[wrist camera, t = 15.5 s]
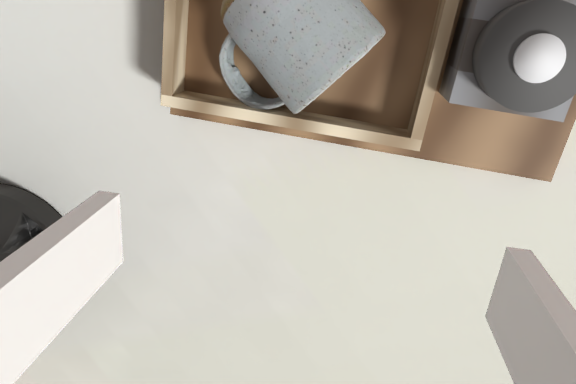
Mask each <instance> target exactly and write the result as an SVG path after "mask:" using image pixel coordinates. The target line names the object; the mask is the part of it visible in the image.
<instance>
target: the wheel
mask: <svg viewBox="0 0 576 384" xmlns="http://www.w3.org/2000/svg"><path fill="white" fill-rule="evenodd" d="M472 67H473V73H474V76H475V79H476V81H477V83H478V85H479V86H480V88H481V89H482V90H483V91H484V92H485V94H486V95H488V96H489V97H490V98H492V99H493V100H495V101H496V102H498V103H499V104H500V105H502V106H504V107H506V108H508V109H511V110H514V111H518V112H525V113H534V112H541V111H545V110H549V109H552V108H554V107H557V106H559V105H561V104H563V103H564V102H566V101H567V100H569V99H570V98H572V97H573V96H574V95H575V94H576V5H574V4H572V3H569V2H567V1H563V0H526V1H521V2H518V3H515V4H513V5H510V6H508V7H506V8H505V9H503V10H501V11H500V12H499V13H497V14H496V15H495V16H494V17H493V18H492V19H491V20H490V21H489V22H488V23H487V24H486V25H485V26H484V28H483V29H482V31H481V32H480V34H479V36H478V38H477V40H476V43H475V46H474V50H473V56H472Z"/></svg>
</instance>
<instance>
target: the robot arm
mask: <svg viewBox="0 0 576 384" xmlns="http://www.w3.org/2000/svg"><path fill="white" fill-rule="evenodd" d="M122 263H123V245H122V226H121V208H120V194H119V193H112V192H104V191H98V192H96V193H95V194H94V195H92V196H91V197H89V198H88V199H87V200H85V201H84V202H83V203H81V204H80V205H78V206H77V207H76V208H74V209H73V210H71V211H70V212H69V213H67V214H66V215H65V216H63V217H61V216H60V214H58V213H57V212H56V211H55V210H54V209H53V208H52V207H51V206H50V205H48V204H47V203H46V202H44V201H43V200H41V199H40V198H38V197H36V196H35V195H33V194H31V193H29V192H27V191H25V190H22V189H20V188H17V187H14V186H10V185H6V184H0V384H14V383H15V382H16V380H17V379H18V378H19V377H20V376H21V375H22V374H23V373H24V372H25V370H26V369H27V368H28V367H29V366H30V365H31V364H32V363H33V362H34V360H35V359H36V358H37V357H38V356H39V355H40V354H41V353H42V352H43V350H44V349H45V348H46V347H47V346H48V345H49V344H50V343H51V342H52V340H53V339H54V338H55V337H56V336H57V335H58V334H59V333H60V332H61V331H62V329H63V328H64V327H65V326H66V325H67V324H68V323H69V322H70V321H71V319H72V318H73V317H74V316H75V315H76V314H77V313H78V312H79V311H80V309H81V308H82V307H83V306H84V305H85V304H86V303H87V302H88V301H89V299H90V298H91V297H92V296H93V295H94V294H95V293H96V292H97V291H98V289H99V288H100V287H101V286H102V285H103V284H104V283H105V282H106V281H107V279H108V278H109V277H110V276H111V275H112V274H113V273H114V272H115V271H116V269H117V268H118V267H119V266H120V265H121V264H122ZM485 317H486V319H487V322H488V324H489V326H490V329H491V331H492V333H493V336H494V338H495V340H496V343H497V345H498V347H499V350H500V352H501V354H502V357H503V359H504V361H505V364H506V366H507V368H508V371H509V373H510V375H511V377H512V380H513V382H514V384H576V311H575V309H574V308H573V307H572V305H571V304H570V303H569V301H568V300H567V298H566V297H565V296H564V294H563V293H562V292H561V290H560V289H559V288H558V286H557V285H556V284H555V282H554V281H553V279H552V278H551V277H550V275H549V274H548V273H547V271H546V270H545V269H544V267H543V266H542V264H541V263H540V262H539V260H538V259H537V258H536V256H535V255H534V254H533V252H532V251H531V250H525V249H518V248H511V247H506V251H505V254H504V257H503V260H502V264H501V267H500V270H499V273H498V277H497V280H496V283H495V286H494V290H493V293H492V296H491V299H490V303H489V306H488V309H487V312H486V316H485Z"/></svg>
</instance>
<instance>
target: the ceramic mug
mask: <svg viewBox="0 0 576 384" xmlns="http://www.w3.org/2000/svg"><path fill="white" fill-rule="evenodd" d="M220 13H221V18H222V22H223V23H224V25H225V27H226V29H227V30H228V32H229V34H228V36H227V37H226V38H225V40H224V42H223V44H222V46H221V50H220V54H219V63H220V69H221V73H222V76H223V78H224V80H225V82H226V84H227V86H228V87H229V89H230V90H231V91H232V93H233V94H234V95H235V96H236V97H237V98H238V99H239V100H240V101H241V102H242V103H244V104H245V105H247V106H249V107H252V108H255V109H260V110H263V109H265V110H268V109H272V108H277V107H280V106H282V105H284V104H285V105H286V106H287V107H288V108H289V110H290V111H291V112H292V113H293V114H297V113H298V112H300V111H301V110H303V109H304V108H305V107H306V106H308V105H309V104H310V103H311V102H312V101H313V100H315V99H316V98H317V97H318V96H319V95H320V94H322V93H323V92H324V91H325V90H326V89H327V88H328V87H329V86H331V85H332V84H333V83H334V82H335V81H336V80H337V79H338V78H340V77H341V76H342V75H343V74H344V73H345V72H346V71H347V70H348V69H350V68H351V67H352V66H353V65H354V64H355V63H357V62H358V61H359V60H360V59H361V58H362V57H364V56H365V55H366V54H367V53H368V52H369V51H370V50H371V49H372V47H373V46H374V45H376V44H377V43H378V42H379V41H380V40H381V39H382V37H384V35H385V33H386V32H385V29H384V27H383V26H382V25H381V24H380V22H379V21H378V20H377V19H376V18H375V17H374V16H373V15H372V13H371V12H370V11H369V10H368V9H367V8H366V6H365V5H364V4H363V3H362V2H361V0H223V2H222V6H221V12H220ZM236 44H237V45H238V46H239V48H240V49H241V50H242V51H243V52H244V53H245V54H246V56H247V57H248V58H249V59H250V60H251V61H252V62H253V64H254V65H255V66H256V68H257V69H258V70H259V71H260V73H261V74H262V75H263V77H264V78H265V79H266V81H267V82H268V83H269V84H270V86H271V87H272V88H273V90H274V91H275V92H276V93H277V95H278V96H279V97H278V98H273V99H270V98H264V97H261V96H259V95H258V94H257V93H255V92H254V91H253V90H252V89H251V88H250V86H249V85H248V84H247V82H246V81H245V79H244V78H243V77H242V75H241V74H240V71H239V69H238V68H237V67H236V66H235V64H234V47H235V45H236Z"/></svg>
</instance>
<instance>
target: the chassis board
mask: <svg viewBox="0 0 576 384" xmlns="http://www.w3.org/2000/svg"><path fill="white" fill-rule="evenodd" d="M521 1H526V0H361V2H362V3H363V4H364V5H365V6H366V8H367V9H368V10H369V11H370V12H371V13H372V15H373V16H374V17H375V18H376V19H377V20H378V21H379V22H380V24H381V25H382V26H383V27H384V29H385V32H386V33H385V35H384V37H382V39H381V40H380V41H379V42H378V43H377V44H376V45H374V46H373V47H372V49H371V50H370V51H369V52H368V53H367V54H366V55H365V56H364V57H362V58H361V59H360V60H359V61H358V62H357V63H355V64H354V65H353V66H352V67H351V68H350V69H348V70H347V71H346V72H345V73H344V74H343V75H342V76H341V77H340V78H338V79H337V80H336V81H335V82H334V83H333V84H332V85H331V86H329V87H328V88H327V89H326V90H325V91H324V92H323V93H322V94H320V95H319V96H318V97H317V98H316V99H315V100H313V101H312V102H311V103H310V104H309V105H308V106H306V107H305V108H304V109H303V110H301V111H300V112H298V113H297V114H293V113H292V112H291V111H290V110H289V108H288V107H287V106H286V105H285V104H284V105H282V106H280V107H277V108H272V109H268V110H265V109H263V110H260V109H255V108H252V107H249V106H247V105H245V104H244V103H242V102H241V101H240V100H239V99H238V98H237V97H236V96H235V95H234V94H233V93H232V91H231V90H230V89H229V87H228V86H227V84H226V82H225V80H224V78H223V76H222V73H221V69H220V63H219V54H220V50H221V46H222V44H223V42H224V40H225V38H226V37H227V36H228V34H229V32H228V30H227V29H226V27H225V25H224V23H223V22H222V18H221V13H220V12H221V6H222V2H223V0H164V25H163V53H162V81H161V106H166V107H171V109H170V114H173V115H179V116H184V117H190V118H196V119H201V120H207V121H212V122H218V123H224V124H229V125H235V126H240V127H246V128H252V129H257V130H263V131H268V132H274V133H280V134H285V135H291V136H297V137H302V138H308V139H313V140H319V141H325V142H330V143H336V144H341V145H347V146H353V147H358V148H364V149H369V150H375V151H381V152H386V153H392V154H397V155H403V156H409V157H414V158H420V159H425V160H431V161H437V162H442V163H448V164H453V165H459V166H465V167H470V168H476V169H481V170H487V171H493V172H498V173H504V174H509V175H515V176H521V177H526V178H532V179H538V180H543V181H549V182H551V180H552V178H553V175H554V173H555V170H556V168H557V165H558V162H559V160H560V157H561V155H562V152H563V150H564V147H565V145H566V142H567V140H568V137H569V134H570V132H571V129H572V127H573V124H574V122H575V119H576V94H575V95H574V96H573V97H572V98H570V99H569V100H567V101H566V102H564V103H563V104H561V105H559V106H557V107H554V108H552V109H549V110H545V111H541V112H534V113H525V112H518V111H514V110H511V109H508V108H506V107H504V106H502V105H500V104H499V103H498V102H496V101H495V100H493V99H492V98H490V97H489V96H488V95H486V94H485V92H484V91H483V90H482V89H481V88H480V86H479V85H478V83H477V81H476V79H475V76H474V73H473V67H472V56H473V50H474V46H475V43H476V40H477V38H478V36H479V34H480V32H481V31H482V29H483V28H484V26H485V25H486V24H487V23H488V22H489V21H490V20H491V19H492V18H493V17H494V16H495V15H496V14H497V13H499V12H500V11H501V10H503V9H505V8H506V7H508V6H510V5H513V4H515V3H518V2H521ZM563 1H567V2H569V3H572V4H574V5H576V0H563ZM234 64H235V66H236V67H237V68H238V69H239V71H240V74H241V75H242V77H243V78H244V79H245V81H246V82H247V84H248V85H249V86H250V88H251V89H252V90H253V91H254V92H255V93H257V94H258V95H259V96H261V97H264V98H270V99H273V98H278V97H279V96H278V95H277V93H276V92H275V91H274V90H273V88H272V87H271V86H270V84H269V83H268V82H267V81H266V79H265V78H264V77H263V75H262V74H261V73H260V71H259V70H258V69H257V68H256V66H255V65H254V64H253V62H252V61H251V60H250V59H249V58H248V57H247V56H246V54H245V53H244V52H243V51H242V50H241V49H240V48H239V46H238V45H237V44H236V45H235V47H234Z"/></svg>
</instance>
